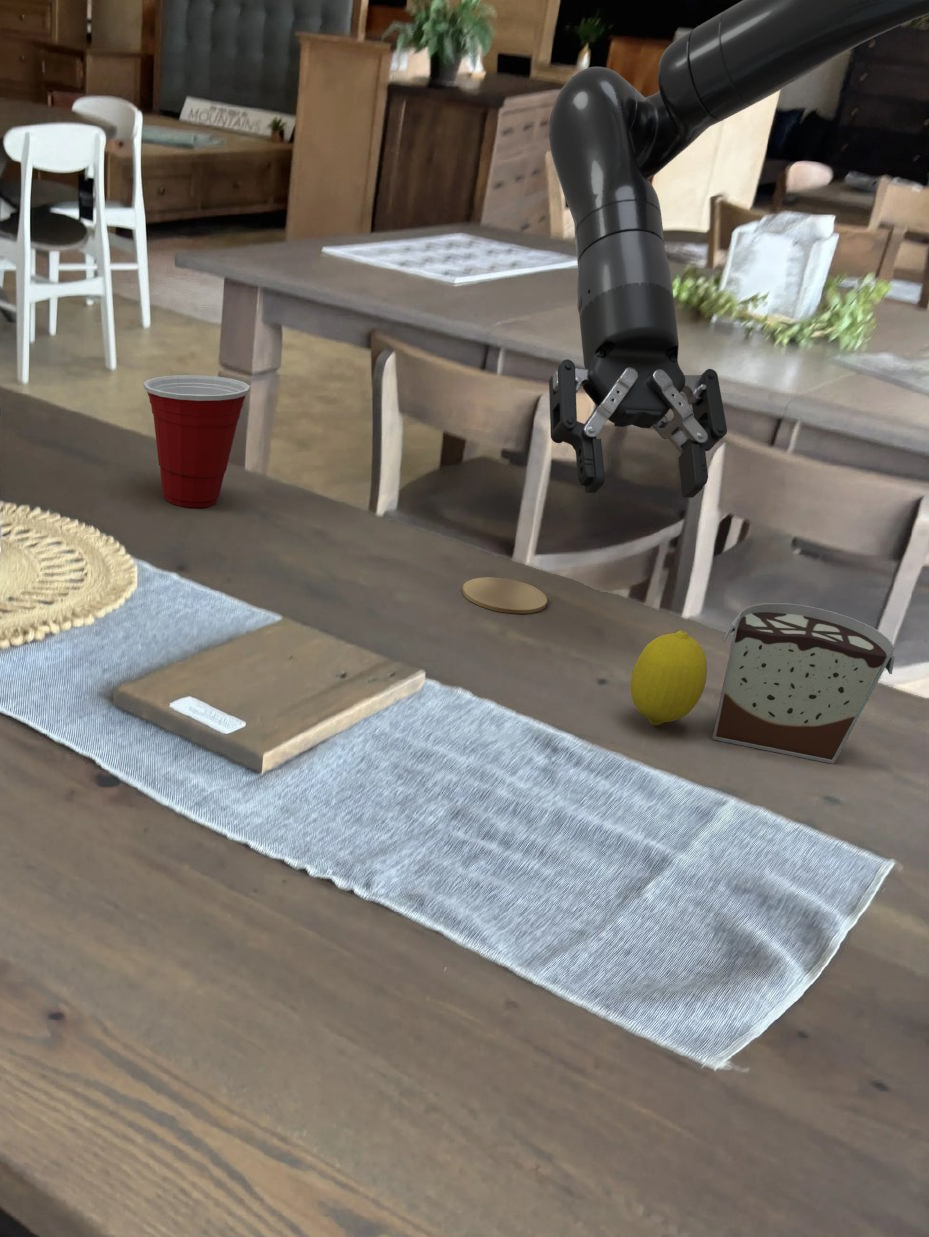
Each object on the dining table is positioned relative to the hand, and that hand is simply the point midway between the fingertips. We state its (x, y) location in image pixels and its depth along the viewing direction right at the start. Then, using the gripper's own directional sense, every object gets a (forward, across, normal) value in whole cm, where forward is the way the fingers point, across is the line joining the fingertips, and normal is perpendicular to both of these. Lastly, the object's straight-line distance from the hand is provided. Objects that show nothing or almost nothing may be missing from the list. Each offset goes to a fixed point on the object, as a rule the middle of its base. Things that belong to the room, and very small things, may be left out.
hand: (645, 491), depth 108 cm
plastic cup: (-17, -31, +38) cm, 52 cm away
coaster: (0, -4, +21) cm, 21 cm away
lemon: (+19, 0, +2) cm, 19 cm away
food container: (+20, +10, +1) cm, 22 cm away
